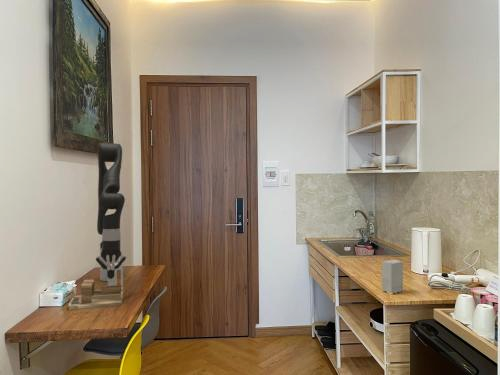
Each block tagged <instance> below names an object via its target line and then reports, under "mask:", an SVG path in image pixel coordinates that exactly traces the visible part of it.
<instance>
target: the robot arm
mask: <svg viewBox="0 0 500 375" xmlns="http://www.w3.org/2000/svg"><path fill="white" fill-rule="evenodd" d="M122 159H123V148H122V145H121V144H120V143H114V142H113V143H111V142H100V143H99V144H98V147H97V163H98V184H97V187H98V188H97V192H98V193H97V196H98V197H97V201H98V205H97V206H98V211H97V220H96V222H97V224H96V229H97V233H98V234H99V235H101V239H102V240H101V242H100V244H99V250H100V252H99V254H100V255H99V256H97V257H96V258H95V261H96V262H97V264H99V265H100V266H99V271H100V275H99V276H100V277H99V279H100V280H99V281H102V282H108V278H109V279H113V277H114V272H115V269H118V268H119V267H120V265H121V264H123V263H124V262H125V260H126V259H127V256H124V255H123V253H122V250H121V239H122V238H121V237H122V236H121V235H122V234H121V216H122V212H123V208H124V206H125V201H126V198H125V196H124V195H123V193H119V192H120V189H121V180H120V178H121V169H122V161H123V160H122ZM106 163H113V164H112V165H111V167H110V168H107V165H106ZM108 210H115V212H113V213H110V214H107V212H108ZM115 263H118V264H117V265H116V266H115ZM110 264H112V268H111V266H110Z"/></svg>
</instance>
